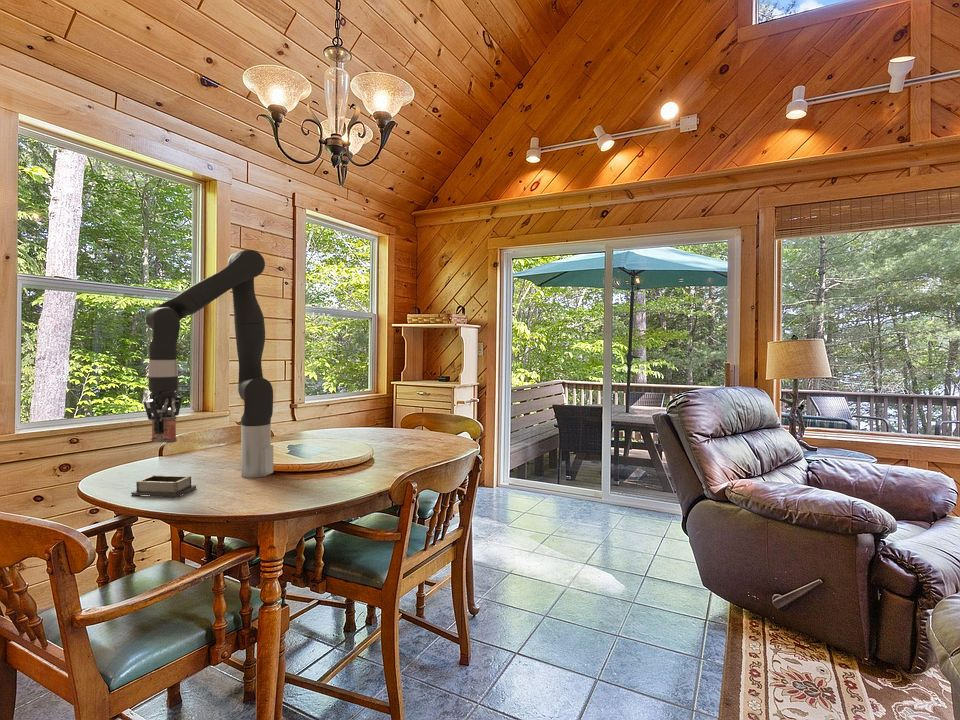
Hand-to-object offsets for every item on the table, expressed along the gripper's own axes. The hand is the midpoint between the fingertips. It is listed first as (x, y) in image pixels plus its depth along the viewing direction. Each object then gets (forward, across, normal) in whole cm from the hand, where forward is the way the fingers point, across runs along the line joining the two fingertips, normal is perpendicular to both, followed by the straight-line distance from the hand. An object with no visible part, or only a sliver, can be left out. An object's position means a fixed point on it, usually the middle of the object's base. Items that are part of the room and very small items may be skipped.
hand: (164, 432), depth 153 cm
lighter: (+3, 0, 0) cm, 3 cm away
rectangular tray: (+18, 0, 0) cm, 18 cm away
